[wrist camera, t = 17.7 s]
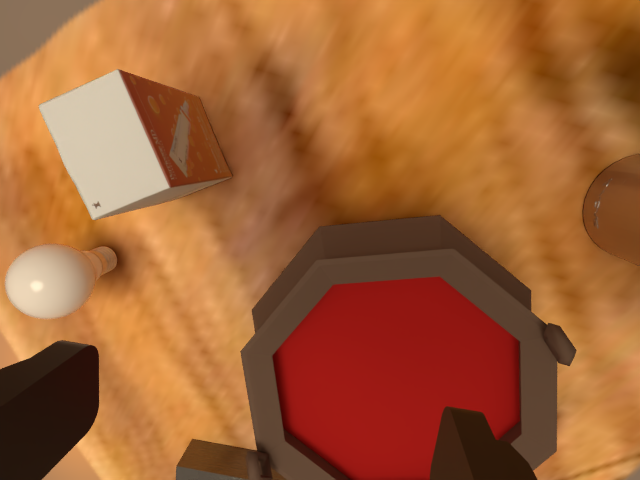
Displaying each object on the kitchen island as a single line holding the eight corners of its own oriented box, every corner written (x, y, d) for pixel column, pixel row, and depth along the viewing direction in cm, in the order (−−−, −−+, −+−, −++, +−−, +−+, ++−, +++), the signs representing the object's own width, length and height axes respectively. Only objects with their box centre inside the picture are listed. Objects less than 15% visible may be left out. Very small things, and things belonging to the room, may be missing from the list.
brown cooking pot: (337, 455, 44) (322, 626, 28) (223, 268, 41) (135, 343, 25) (552, 369, 40) (677, 516, 24) (444, 150, 36) (506, 150, 20)
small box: (234, 177, 39) (172, 190, 26) (177, 199, 40) (90, 223, 27) (200, 94, 37) (116, 65, 25) (141, 120, 38) (33, 105, 26)
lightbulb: (149, 257, 41) (75, 294, 31) (114, 298, 43) (32, 347, 32) (102, 214, 41) (10, 237, 30) (68, 257, 42) (-31, 293, 32)
